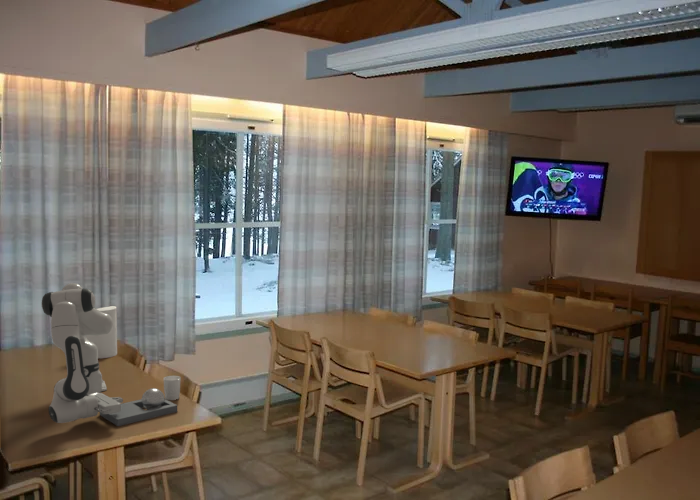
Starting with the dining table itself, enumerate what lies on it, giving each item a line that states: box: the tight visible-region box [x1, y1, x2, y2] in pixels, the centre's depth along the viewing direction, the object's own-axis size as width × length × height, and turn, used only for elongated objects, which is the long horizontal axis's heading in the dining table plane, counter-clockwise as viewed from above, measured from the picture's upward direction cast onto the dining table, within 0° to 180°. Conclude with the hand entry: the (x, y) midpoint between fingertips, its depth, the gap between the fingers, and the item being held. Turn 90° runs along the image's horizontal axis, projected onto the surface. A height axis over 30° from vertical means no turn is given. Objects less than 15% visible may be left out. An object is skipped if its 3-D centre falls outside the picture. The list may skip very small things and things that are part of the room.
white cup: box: [163, 375, 181, 401], centre depth 321 cm, size 8×8×10 cm
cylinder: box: [85, 305, 118, 359], centre depth 396 cm, size 17×17×28 cm
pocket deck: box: [99, 398, 178, 427], centre depth 300 cm, size 28×18×3 cm, turn 134°
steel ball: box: [141, 387, 165, 410], centre depth 304 cm, size 10×10×10 cm
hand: (121, 399), depth 294 cm, fingers closed
